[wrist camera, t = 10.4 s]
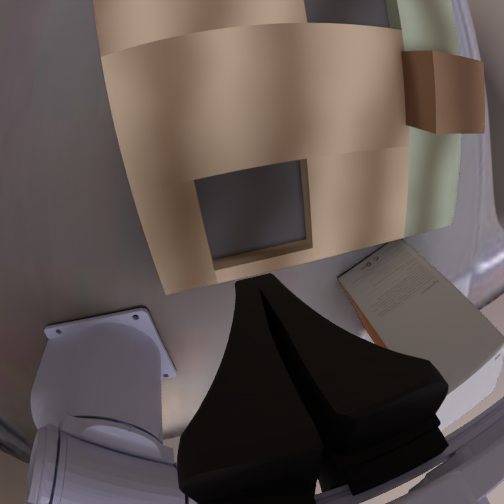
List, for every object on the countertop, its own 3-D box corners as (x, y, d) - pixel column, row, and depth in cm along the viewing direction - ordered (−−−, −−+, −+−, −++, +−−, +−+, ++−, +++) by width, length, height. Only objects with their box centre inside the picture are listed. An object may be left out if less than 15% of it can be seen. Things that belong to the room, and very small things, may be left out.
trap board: (166, 282, 21) (165, 295, 20) (95, -37, 10) (89, -45, 9) (441, 217, 24) (452, 224, 22) (429, -36, 12) (441, -39, 11)
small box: (334, 277, 24) (425, 410, 13) (398, 233, 23) (511, 338, 12) (364, 330, 28) (432, 438, 17) (416, 293, 27) (497, 388, 16)
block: (405, 125, 17) (435, 134, 15) (400, 51, 15) (432, 50, 12) (455, 124, 18) (484, 133, 15) (452, 59, 15) (483, 61, 13)
